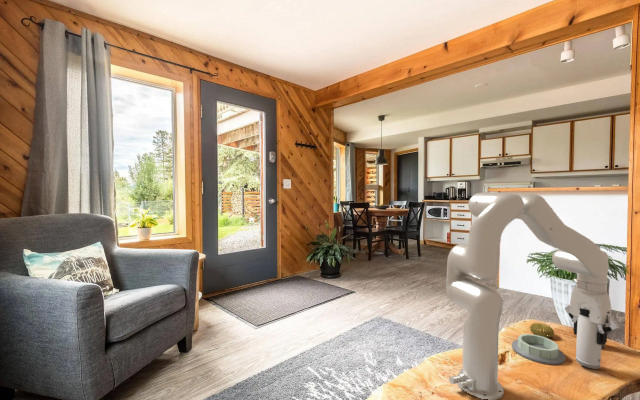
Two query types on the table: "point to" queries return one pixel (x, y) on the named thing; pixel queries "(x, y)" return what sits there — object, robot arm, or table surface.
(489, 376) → the robot arm
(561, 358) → the mug dock
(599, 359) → the travel mug
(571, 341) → the table surface
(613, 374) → the table surface
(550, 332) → the sculpture
